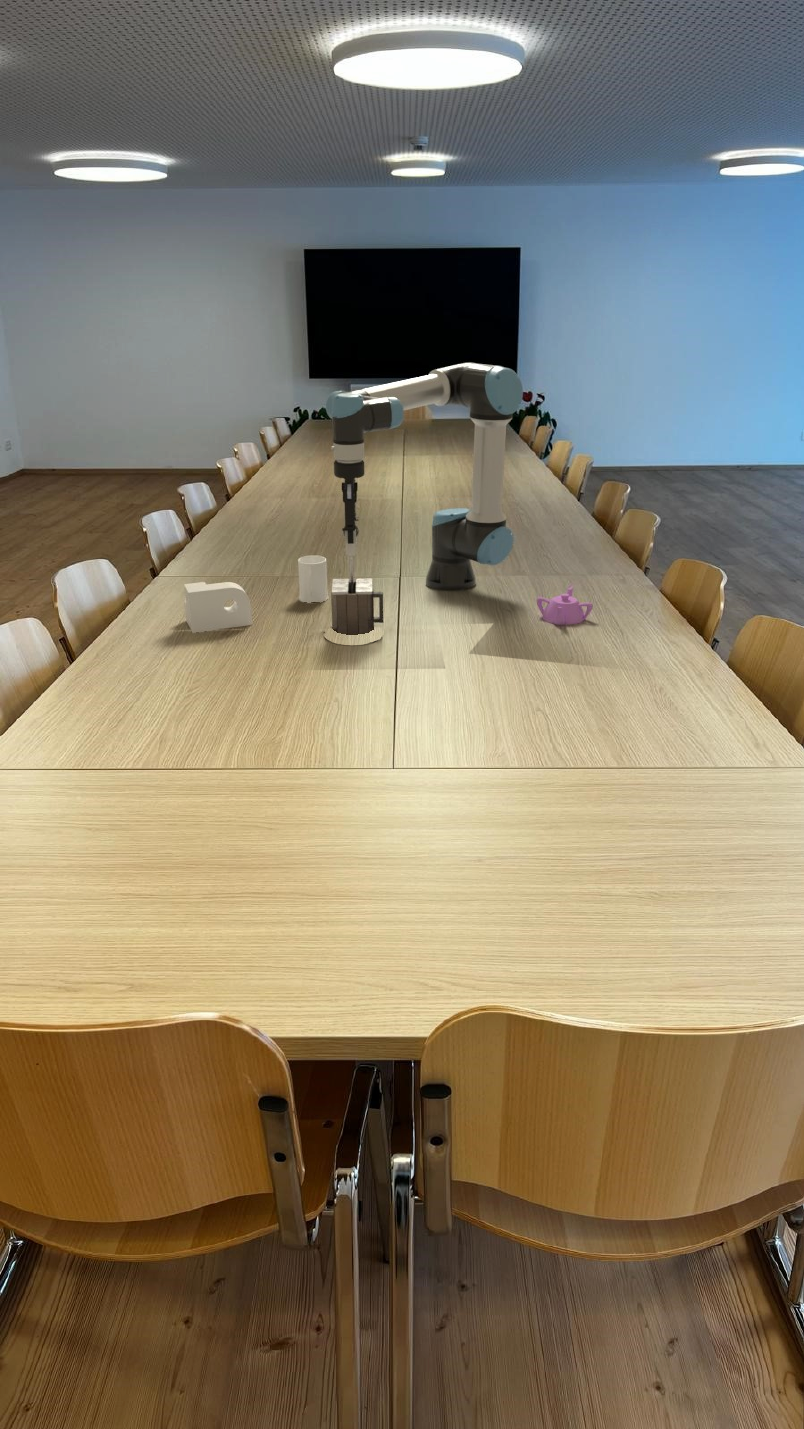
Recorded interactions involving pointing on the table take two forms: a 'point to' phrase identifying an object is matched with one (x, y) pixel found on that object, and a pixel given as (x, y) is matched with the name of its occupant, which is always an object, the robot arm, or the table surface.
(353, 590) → the plunger
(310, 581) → the mug
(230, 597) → the tape dispenser
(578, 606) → the teapot
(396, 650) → the table surface
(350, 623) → the wooden tankard
